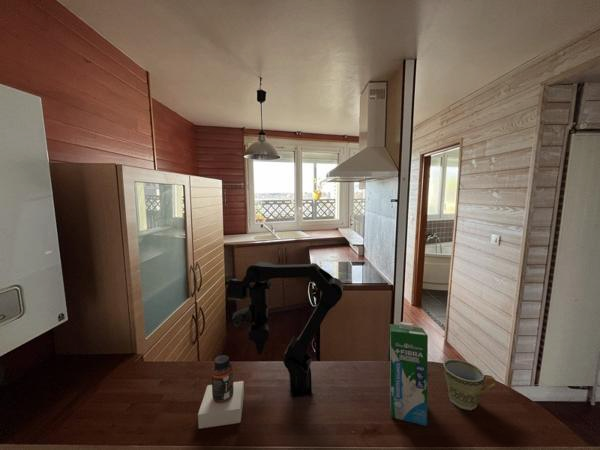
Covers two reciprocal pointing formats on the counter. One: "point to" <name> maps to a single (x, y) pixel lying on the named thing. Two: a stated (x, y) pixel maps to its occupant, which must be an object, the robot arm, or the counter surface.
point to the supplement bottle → (222, 379)
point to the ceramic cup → (464, 383)
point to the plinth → (221, 408)
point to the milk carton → (408, 373)
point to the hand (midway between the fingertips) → (260, 346)
